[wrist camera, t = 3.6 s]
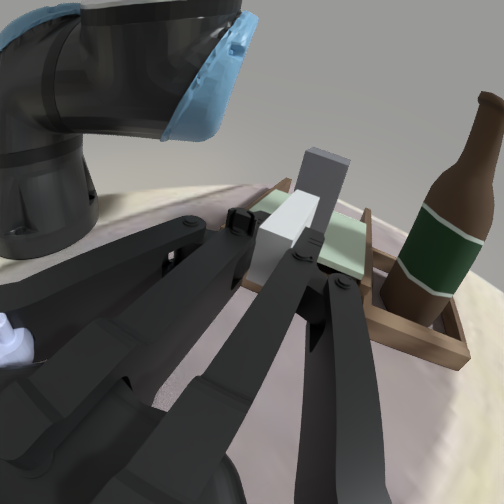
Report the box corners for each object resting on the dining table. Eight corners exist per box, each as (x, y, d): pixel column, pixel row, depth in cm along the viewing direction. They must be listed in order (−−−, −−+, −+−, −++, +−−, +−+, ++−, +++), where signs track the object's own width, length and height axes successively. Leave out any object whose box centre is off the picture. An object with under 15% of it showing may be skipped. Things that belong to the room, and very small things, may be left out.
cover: (232, 227, 26) (251, 134, 21) (274, 193, 36) (291, 129, 31) (360, 280, 23) (402, 188, 18) (364, 228, 33) (389, 164, 28)
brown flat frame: (200, 267, 25) (203, 239, 23) (281, 194, 46) (286, 177, 44) (458, 371, 19) (477, 351, 17) (427, 254, 40) (435, 239, 38)
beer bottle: (364, 287, 28) (447, 69, 15) (403, 279, 31) (476, 101, 18) (409, 339, 22) (522, 95, 9) (443, 321, 25) (534, 128, 12)
